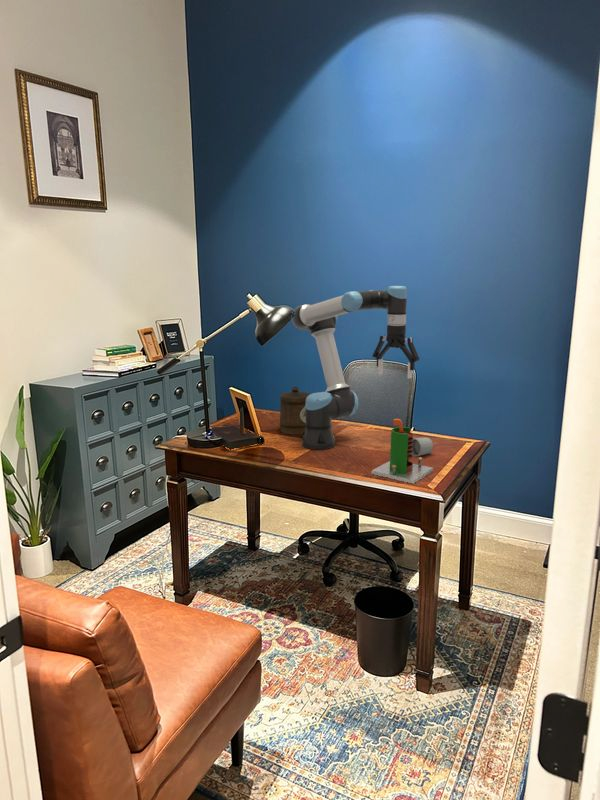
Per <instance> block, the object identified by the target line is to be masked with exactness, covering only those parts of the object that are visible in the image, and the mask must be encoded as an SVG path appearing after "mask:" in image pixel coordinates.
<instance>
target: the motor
mask: <svg viewBox="0 0 600 800" xmlns="http://www.w3.org/2000/svg"><path fill="white" fill-rule="evenodd" d="M393 426H395V427H392V428H391V430H390V431H391V432H390V453H389V461H390V470H392V471H393V467H392V465H397V467H396V472H398V473H406V472H410V471H412V470H413V464H414V463H413V462H411V461H410V459H413V455H412V453H413V451H412V449H413V446H412V445H413V442H412V441H413V439H414V435H415V434H414V433H413V432H411V431H412V429H411V427H408V426H403V422H402V420H401V419H400V418H393ZM396 426H397V427H396Z"/></svg>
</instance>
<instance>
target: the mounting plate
mask: <svg viewBox="0 0 600 800" xmlns="http://www.w3.org/2000/svg"><path fill="white" fill-rule="evenodd" d="M417 460H418V464H416V463H413V470H412V471H410V472H406V473H398V472H396V467H397V465H392V467H393V471H392V470H390V460H389V461H387V462H384V463H383V464H381V465H380V466H377V467H375V468H374V469H372V470H371V475H373V474H374V475H373V476H377V475H378V476H377V477H381V476H383V477H382V478H386V477H388V478H387V479H390V478H391V479H392V480H394V479H395V480H394V481H400V482H403V481H404V483H407V482H408V483H407V484H411V483H412V485H414V484H416V483H417V482H418V481H421V480H423V478H426V476H428V475H429V474H431V473H433V472H434V467H431V466H426V465H422V463H423V462H422V460H423V457H421V456H417ZM415 482H416V483H415Z"/></svg>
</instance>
